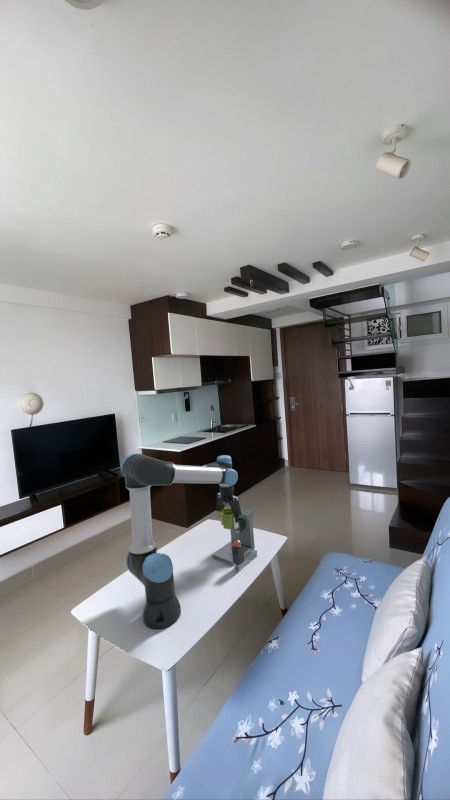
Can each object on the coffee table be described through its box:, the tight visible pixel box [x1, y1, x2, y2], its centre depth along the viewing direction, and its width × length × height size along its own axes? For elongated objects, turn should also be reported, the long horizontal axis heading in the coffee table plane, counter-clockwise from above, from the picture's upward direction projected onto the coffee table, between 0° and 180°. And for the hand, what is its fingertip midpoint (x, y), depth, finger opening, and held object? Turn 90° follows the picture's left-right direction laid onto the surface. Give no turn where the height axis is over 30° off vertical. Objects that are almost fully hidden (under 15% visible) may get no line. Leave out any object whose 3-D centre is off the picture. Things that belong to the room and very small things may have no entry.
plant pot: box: [218, 507, 234, 530], centre depth 171 cm, size 9×9×9 cm
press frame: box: [211, 508, 258, 572], centre depth 171 cm, size 23×20×20 cm
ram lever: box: [232, 540, 244, 565], centre depth 159 cm, size 4×4×11 cm
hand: (229, 526), depth 172 cm, fingers closed on plant pot, 8 cm apart
